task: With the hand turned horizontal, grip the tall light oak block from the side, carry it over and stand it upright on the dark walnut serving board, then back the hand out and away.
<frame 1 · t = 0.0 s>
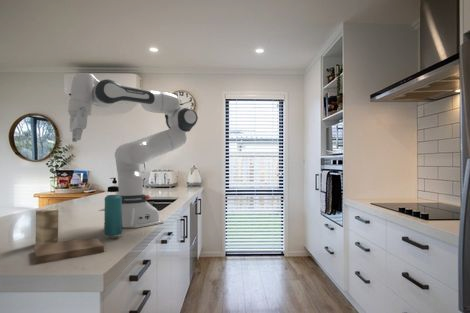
hand: (76, 140, 121), 39 cm above the worktop, tool pointing down, fingers open, 8 cm apart
beverage bottle: (113, 238, 109), on the worktop
oak block: (46, 243, 102), on the worktop
walnut board: (69, 251, 92), on the worktop
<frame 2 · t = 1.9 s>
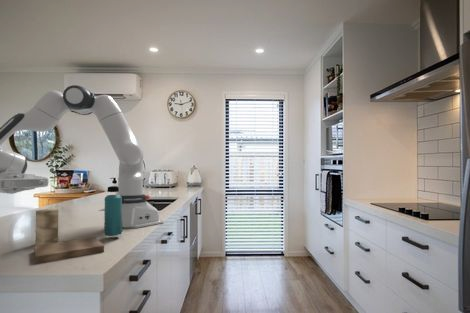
hand: (29, 183, 108), 21 cm above the worktop, tool horizontal, fingers open, 8 cm apart
nothing on the worktop moved.
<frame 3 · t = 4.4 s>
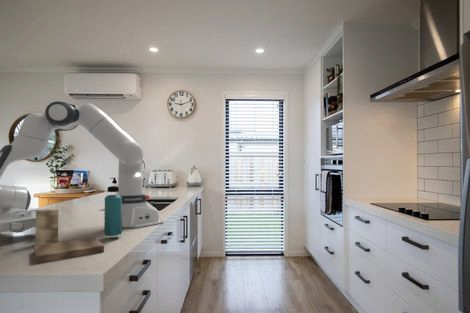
hand: (37, 223, 105), 6 cm above the worktop, tool horizontal, fingers open, 8 cm apart
nothing on the worktop moved.
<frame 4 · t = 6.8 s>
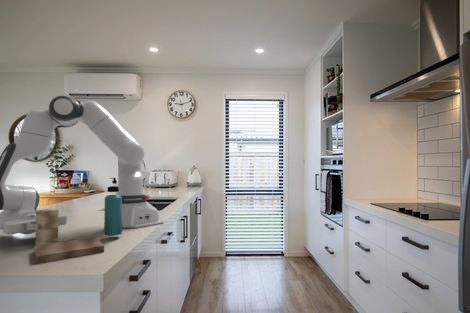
hand: (48, 225, 102), 7 cm above the worktop, tool horizontal, fingers closed on oak block, 5 cm apart
oak block: (46, 243, 102), on the worktop, touching gripper
everything else where it was.
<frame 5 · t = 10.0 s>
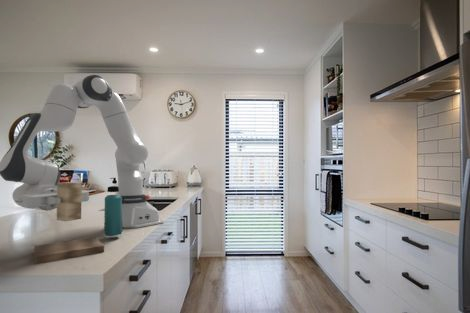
hand: (71, 199, 92), 17 cm above the worktop, tool horizontal, fingers closed on oak block, 5 cm apart
oak block: (69, 219, 92), point 10 cm above the worktop, touching gripper
everything else where it was.
when the fingers open (9 cm above the worktop, at t = 13.6 s): oak block stays where it is, resting on walnut board.
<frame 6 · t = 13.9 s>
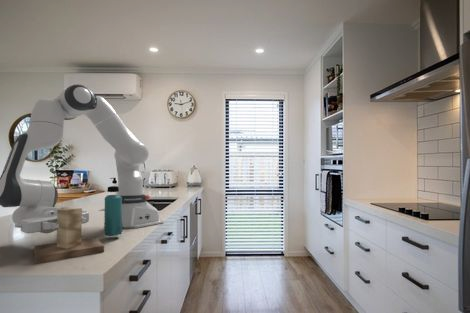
hand: (71, 223, 91), 9 cm above the worktop, tool horizontal, fingers open, 8 cm apart
oak block: (69, 245, 92), point 2 cm above the worktop, touching walnut board
everything else where it was.
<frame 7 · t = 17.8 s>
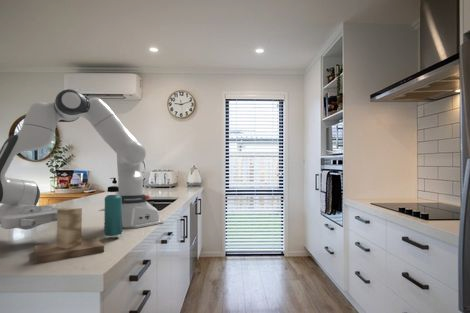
hand: (48, 220, 97), 9 cm above the worktop, tool horizontal, fingers open, 8 cm apart
nothing on the worktop moved.
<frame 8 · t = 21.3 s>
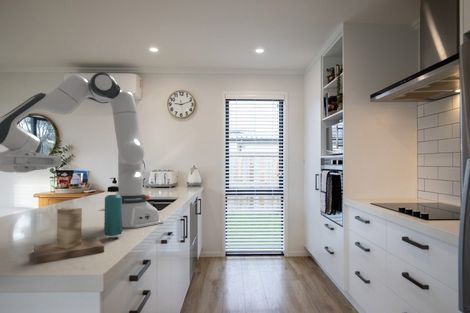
hand: (42, 160, 102), 30 cm above the worktop, tool horizontal, fingers open, 8 cm apart
nothing on the worktop moved.
at the end: oak block inside the target area on the walnut board (0.0 cm from its centre), point 2.0 cm above the walnut board's base; oak block tilted 0°; the gripper is holding nothing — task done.
